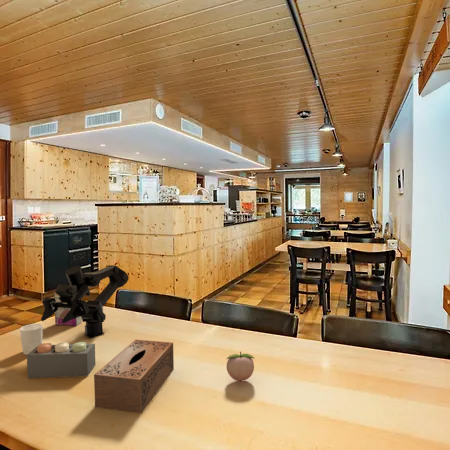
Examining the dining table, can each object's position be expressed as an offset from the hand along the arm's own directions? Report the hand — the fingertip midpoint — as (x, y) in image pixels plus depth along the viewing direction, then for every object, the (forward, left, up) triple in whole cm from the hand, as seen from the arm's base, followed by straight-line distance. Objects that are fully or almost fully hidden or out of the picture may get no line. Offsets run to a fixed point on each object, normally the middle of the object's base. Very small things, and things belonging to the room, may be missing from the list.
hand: (51, 321), depth 127 cm
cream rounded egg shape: (0, +12, -10) cm, 15 cm away
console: (0, +12, -15) cm, 19 cm away
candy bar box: (-17, -36, -15) cm, 43 cm away
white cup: (+4, -14, -15) cm, 21 cm away
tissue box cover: (-14, +39, -15) cm, 44 cm away
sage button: (-4, +15, -10) cm, 19 cm away
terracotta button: (+5, +8, -10) cm, 13 cm away
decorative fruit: (-40, +60, -15) cm, 74 cm away
